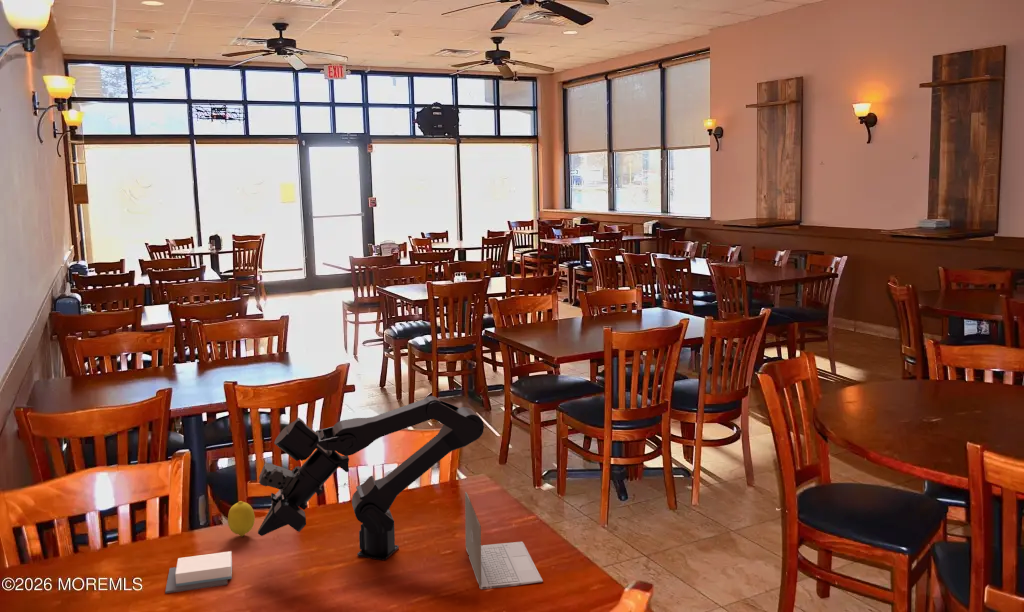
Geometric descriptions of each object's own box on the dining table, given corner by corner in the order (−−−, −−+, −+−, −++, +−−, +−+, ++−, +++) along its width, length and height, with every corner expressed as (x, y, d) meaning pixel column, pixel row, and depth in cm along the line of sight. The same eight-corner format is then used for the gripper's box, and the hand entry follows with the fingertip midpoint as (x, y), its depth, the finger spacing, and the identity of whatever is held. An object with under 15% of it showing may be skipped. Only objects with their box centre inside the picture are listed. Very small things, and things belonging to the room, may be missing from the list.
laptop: (543, 584, 158) (543, 520, 156) (479, 591, 156) (478, 526, 154) (523, 544, 176) (523, 486, 174) (465, 550, 173) (464, 491, 171)
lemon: (260, 532, 181) (258, 498, 180) (244, 543, 176) (242, 507, 175) (239, 529, 183) (237, 495, 182) (223, 539, 178) (221, 504, 176)
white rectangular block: (231, 551, 165) (178, 558, 162) (230, 566, 159) (175, 574, 156) (232, 562, 166) (178, 570, 163) (231, 578, 159) (176, 586, 156)
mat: (228, 562, 167) (228, 560, 167) (227, 584, 158) (227, 582, 158) (169, 569, 164) (169, 568, 164) (165, 593, 154) (165, 591, 154)
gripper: (280, 436, 171) (228, 493, 169) (284, 465, 154) (226, 529, 152) (320, 468, 175) (270, 524, 173) (329, 499, 157) (273, 563, 155)
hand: (259, 534), depth 163 cm, fingers closed
